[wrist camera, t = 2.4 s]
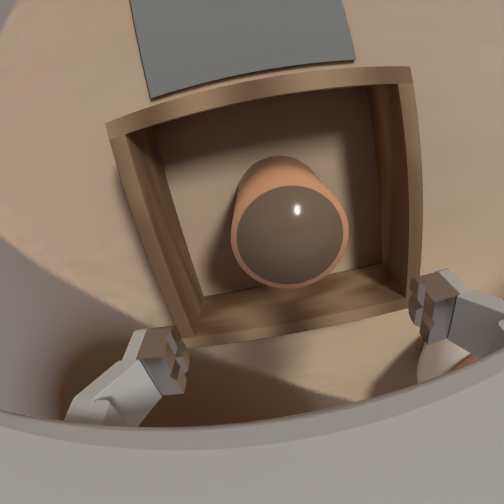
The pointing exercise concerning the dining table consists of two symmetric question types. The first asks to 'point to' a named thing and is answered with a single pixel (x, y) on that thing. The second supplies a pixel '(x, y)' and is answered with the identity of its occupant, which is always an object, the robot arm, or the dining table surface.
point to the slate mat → (235, 38)
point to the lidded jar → (441, 359)
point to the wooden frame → (270, 298)
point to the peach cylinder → (286, 224)
